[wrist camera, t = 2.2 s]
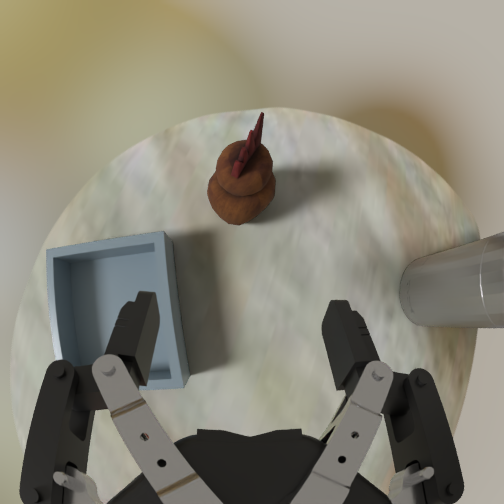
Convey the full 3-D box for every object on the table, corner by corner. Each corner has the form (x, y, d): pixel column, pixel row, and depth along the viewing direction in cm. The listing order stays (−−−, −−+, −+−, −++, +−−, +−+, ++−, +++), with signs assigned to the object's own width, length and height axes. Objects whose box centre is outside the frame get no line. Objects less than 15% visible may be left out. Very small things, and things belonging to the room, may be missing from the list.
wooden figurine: (245, 170, 34) (259, 86, 19) (277, 205, 33) (313, 135, 19) (200, 203, 32) (184, 129, 18) (232, 241, 32) (237, 188, 17)
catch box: (172, 242, 31) (163, 231, 26) (190, 375, 29) (183, 388, 24) (67, 257, 30) (46, 249, 25) (81, 378, 27) (61, 387, 22)
